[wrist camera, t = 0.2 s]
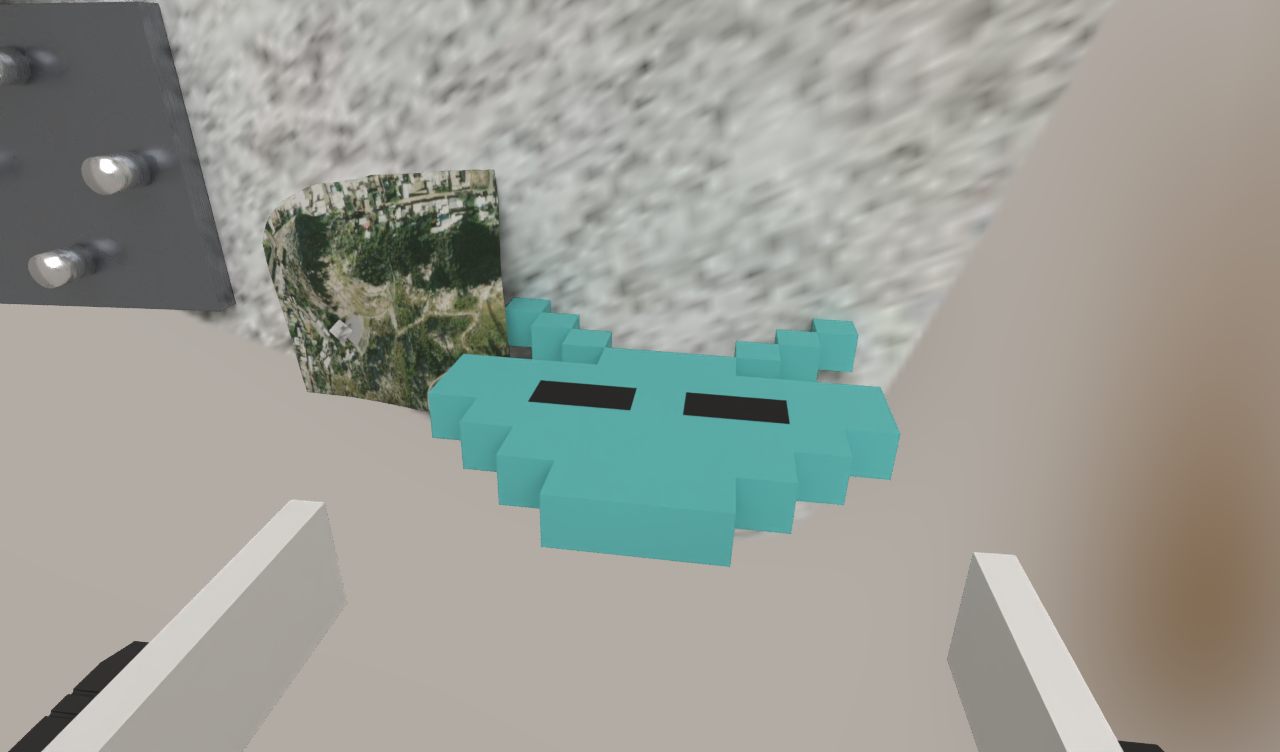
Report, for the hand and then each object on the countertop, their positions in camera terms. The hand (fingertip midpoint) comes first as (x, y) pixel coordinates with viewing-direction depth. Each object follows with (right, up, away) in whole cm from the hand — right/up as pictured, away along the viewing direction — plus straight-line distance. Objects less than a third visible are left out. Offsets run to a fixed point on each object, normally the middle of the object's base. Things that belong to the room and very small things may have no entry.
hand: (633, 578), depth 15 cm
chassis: (-34, +17, +28) cm, 48 cm away
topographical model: (-15, +11, +29) cm, 35 cm away
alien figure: (+2, +7, +28) cm, 29 cm away
